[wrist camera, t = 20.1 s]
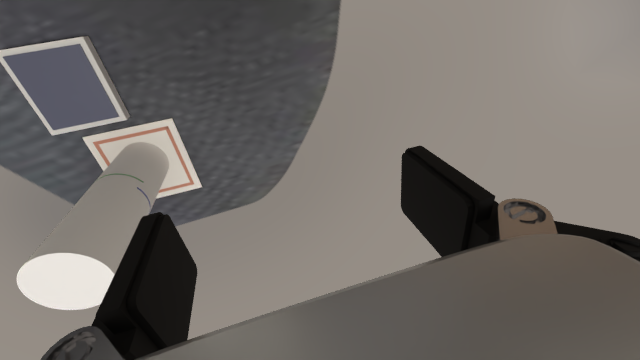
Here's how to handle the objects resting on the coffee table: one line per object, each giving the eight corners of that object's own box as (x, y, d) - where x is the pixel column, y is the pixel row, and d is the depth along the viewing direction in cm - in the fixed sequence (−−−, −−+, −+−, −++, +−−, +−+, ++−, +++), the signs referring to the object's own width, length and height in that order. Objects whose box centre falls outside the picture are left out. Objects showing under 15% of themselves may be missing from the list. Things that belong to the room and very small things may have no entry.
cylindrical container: (141, 188, 48) (69, 320, 27) (108, 155, 44) (-8, 279, 23) (178, 168, 48) (134, 285, 27) (148, 134, 44) (69, 239, 23)
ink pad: (2, 50, 35) (-9, 51, 33) (88, 36, 36) (81, 36, 35) (58, 131, 41) (50, 136, 39) (130, 116, 42) (126, 120, 41)
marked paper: (82, 137, 42) (81, 137, 42) (172, 118, 44) (171, 118, 44) (126, 205, 49) (125, 206, 49) (202, 186, 51) (201, 187, 50)
